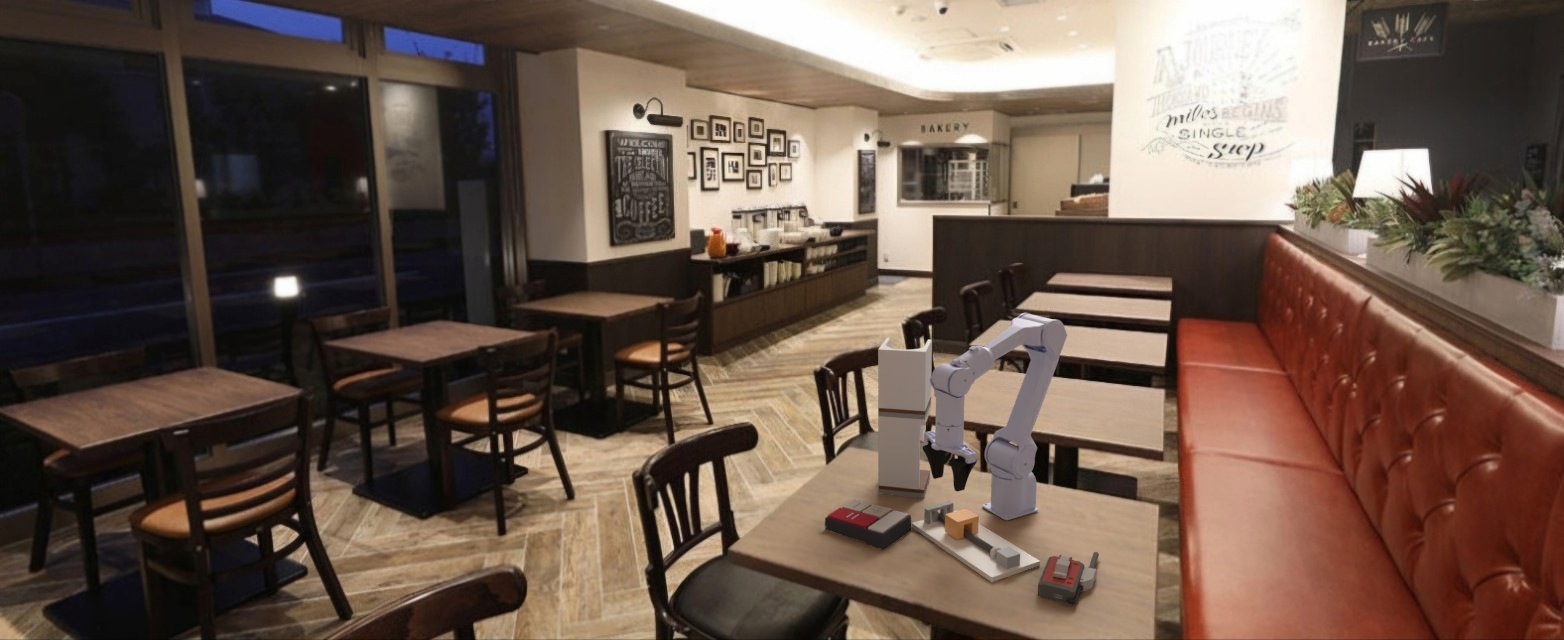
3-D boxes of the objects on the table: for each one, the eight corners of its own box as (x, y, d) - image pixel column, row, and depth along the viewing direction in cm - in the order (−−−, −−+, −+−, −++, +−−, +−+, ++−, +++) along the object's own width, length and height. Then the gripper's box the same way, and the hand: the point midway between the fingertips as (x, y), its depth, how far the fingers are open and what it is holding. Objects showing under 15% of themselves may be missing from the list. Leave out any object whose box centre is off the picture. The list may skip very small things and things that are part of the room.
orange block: (965, 525, 167) (965, 508, 166) (978, 533, 163) (978, 515, 162) (944, 531, 164) (945, 514, 164) (957, 539, 161) (957, 522, 160)
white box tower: (923, 498, 183) (925, 351, 175) (878, 493, 186) (878, 349, 179) (929, 478, 194) (931, 339, 186) (886, 474, 197) (886, 337, 189)
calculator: (853, 496, 177) (911, 511, 168) (854, 514, 178) (912, 530, 168) (823, 514, 169) (883, 531, 160) (825, 533, 170) (884, 551, 160)
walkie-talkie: (1086, 613, 138) (1101, 560, 155) (1087, 591, 137) (1103, 540, 154) (1034, 601, 142) (1055, 550, 159) (1035, 579, 141) (1056, 530, 158)
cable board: (956, 514, 175) (956, 496, 174) (1039, 565, 153) (1040, 545, 152) (911, 527, 169) (911, 509, 168) (991, 582, 148) (992, 561, 147)
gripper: (912, 415, 167) (912, 475, 170) (956, 436, 155) (955, 501, 158) (939, 409, 171) (938, 468, 173) (985, 430, 158) (983, 493, 161)
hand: (948, 483), depth 166 cm, fingers open, 7 cm apart
